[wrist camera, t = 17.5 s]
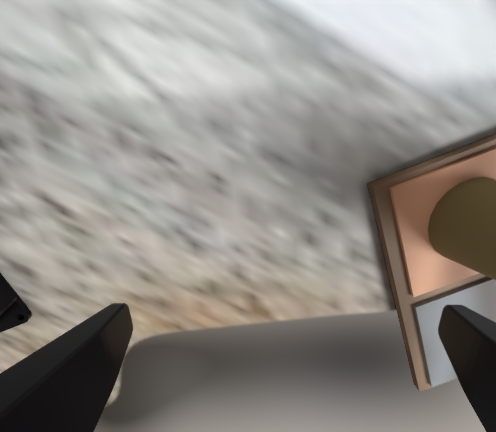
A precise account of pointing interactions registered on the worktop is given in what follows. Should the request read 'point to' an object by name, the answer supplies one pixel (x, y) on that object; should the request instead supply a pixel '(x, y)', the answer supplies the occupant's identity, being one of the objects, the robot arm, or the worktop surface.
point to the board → (429, 255)
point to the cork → (467, 225)
